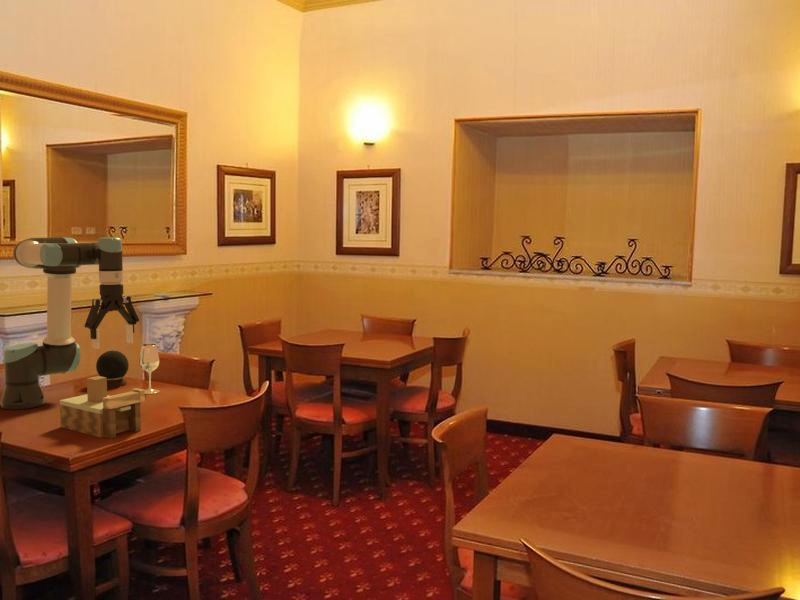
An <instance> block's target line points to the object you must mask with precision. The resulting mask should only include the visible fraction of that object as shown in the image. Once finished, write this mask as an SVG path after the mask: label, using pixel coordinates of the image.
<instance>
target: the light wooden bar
mask: <svg viewBox="0 0 800 600" xmlns="http://www.w3.org/2000/svg"><path fill="white" fill-rule="evenodd" d="M145 390H146V389H143V388H132V391H127V392H123V393H119V394H114V395H109V397H104V398H103V408H106V409H113V408H118V407H122V406H126V405H130V404H134V403H138V402H140V403H144V402H146V399H145V398H146V396H145V395H146V394H145Z"/></svg>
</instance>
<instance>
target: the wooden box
mask: <svg viewBox="0 0 800 600" xmlns="http://www.w3.org/2000/svg"><path fill="white" fill-rule="evenodd" d="M128 406H131V409H129V410H125V411H116V410H115V408H113V409H106V408H103V413H102V414H98V413H94V412H90V411H85V410H81V409H77V408H73V407H68V406H64V405H60V404H59V416H60V417H59V418H60V420H59V421H60V428H63V429H67V430H71V431H74V432H77V433H82V434H87V435H89V436H93V437H98V438H107V439H110V440H111V439H116V438H117V434H120V433H123V432H126V431H131V432H135V433H136V432H139V431H142V426H141V425H142V424H141V423H142V421H141V418H142V417H141V416H142V415H141V402H138V403H134V404H130V405H128Z"/></svg>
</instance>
